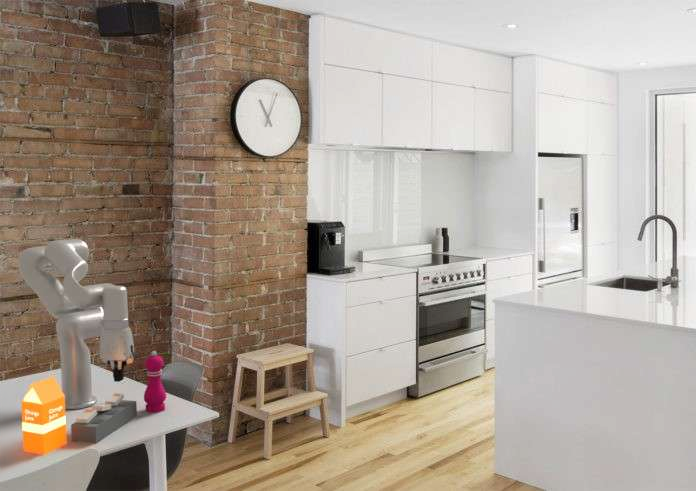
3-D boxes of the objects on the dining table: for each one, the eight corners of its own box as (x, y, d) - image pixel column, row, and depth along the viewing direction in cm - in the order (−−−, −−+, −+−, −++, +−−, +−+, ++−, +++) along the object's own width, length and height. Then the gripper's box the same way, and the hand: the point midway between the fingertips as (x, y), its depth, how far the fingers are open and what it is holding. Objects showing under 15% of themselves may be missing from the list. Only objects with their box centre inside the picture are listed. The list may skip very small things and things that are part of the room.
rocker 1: (76, 422, 209) (75, 417, 209) (86, 413, 214) (85, 408, 213) (87, 423, 208) (86, 418, 208) (97, 414, 213) (96, 409, 213)
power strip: (71, 441, 208) (70, 423, 208) (123, 408, 238) (123, 392, 237) (96, 443, 207) (95, 425, 206) (145, 409, 236) (145, 394, 235)
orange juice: (23, 451, 201) (19, 382, 199) (46, 440, 209) (43, 374, 207) (44, 454, 198) (41, 385, 196) (67, 443, 206) (64, 377, 204)
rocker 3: (105, 405, 225) (105, 400, 224) (114, 396, 229) (113, 392, 229) (116, 405, 224) (115, 401, 223) (124, 397, 229) (123, 393, 228)
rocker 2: (91, 410, 217) (91, 405, 217) (100, 408, 222) (101, 403, 222) (102, 411, 216) (102, 405, 216) (111, 409, 221) (111, 404, 221)
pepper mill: (160, 414, 232) (158, 354, 230) (140, 412, 233) (138, 353, 231) (170, 406, 239) (168, 349, 237) (150, 405, 240) (148, 348, 238)
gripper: (88, 326, 224) (91, 382, 225) (131, 327, 221) (134, 384, 222) (101, 321, 231) (104, 376, 233) (143, 322, 228) (145, 378, 230)
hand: (118, 380), depth 228 cm, fingers closed
